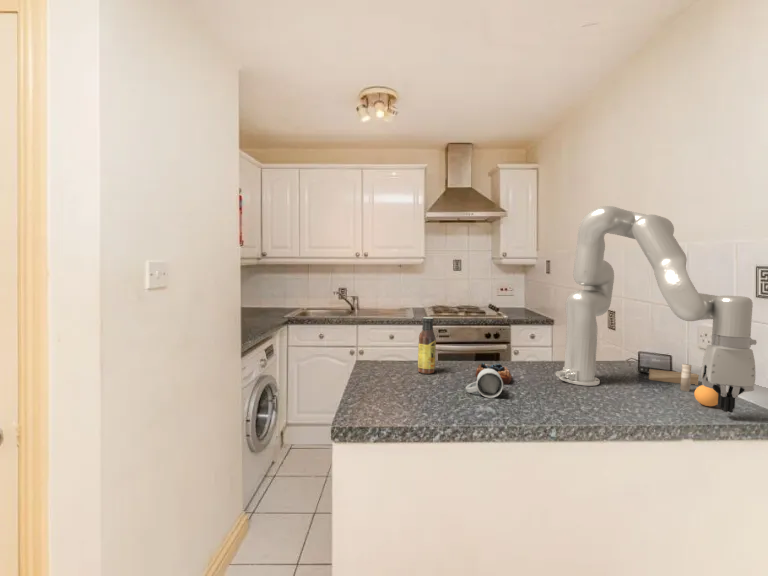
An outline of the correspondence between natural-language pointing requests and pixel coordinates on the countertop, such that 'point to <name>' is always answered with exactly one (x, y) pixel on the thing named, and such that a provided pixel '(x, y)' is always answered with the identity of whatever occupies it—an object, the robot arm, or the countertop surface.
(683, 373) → the pin
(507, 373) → the pastry
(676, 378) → the wall
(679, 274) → the robot arm
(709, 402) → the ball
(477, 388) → the ceramic mug
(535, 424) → the countertop surface
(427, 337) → the sauce bottle
